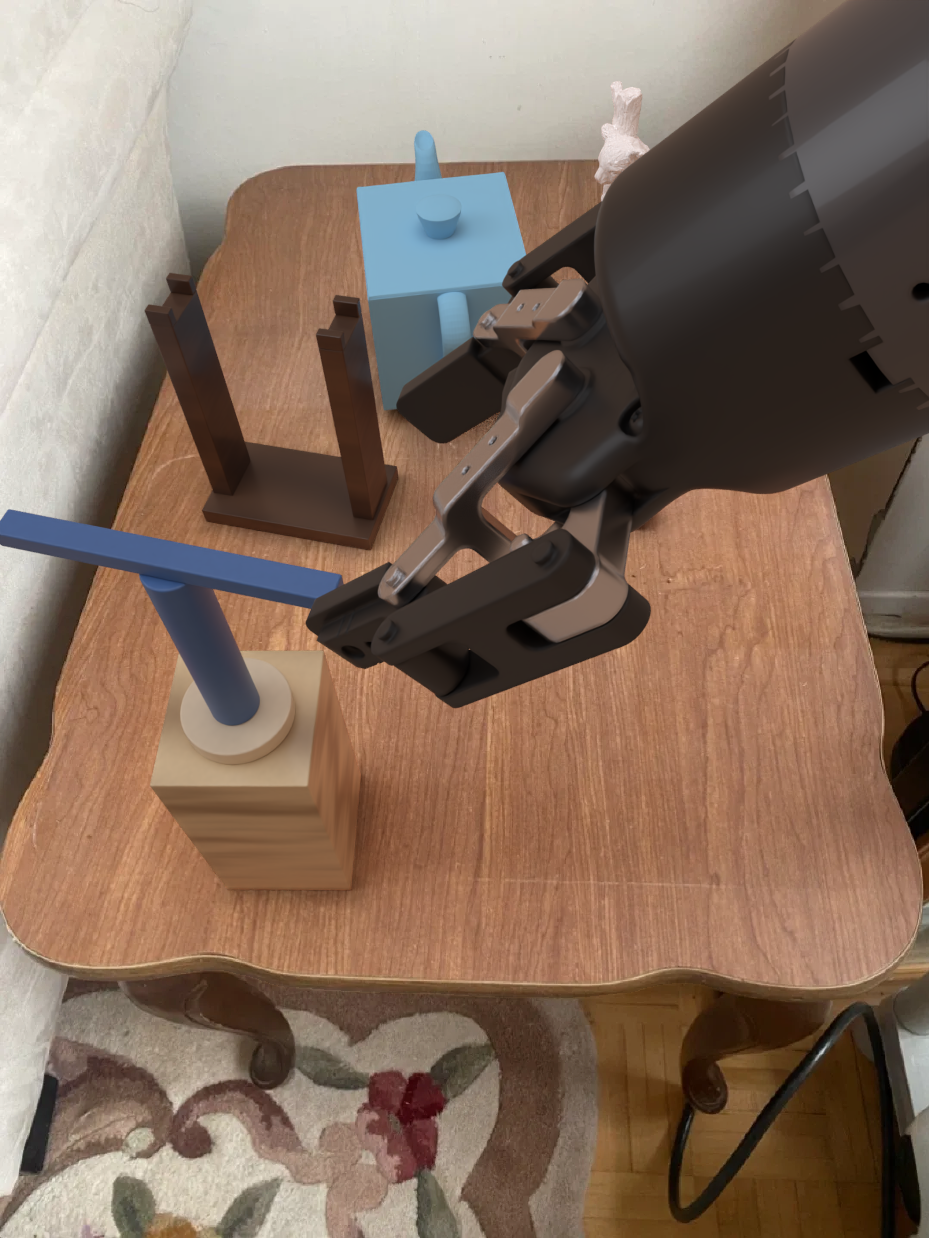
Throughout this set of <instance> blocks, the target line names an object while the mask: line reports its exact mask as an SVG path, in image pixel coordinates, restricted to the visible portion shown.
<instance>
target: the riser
mask: <svg viewBox="0 0 929 1238" xmlns="http://www.w3.org/2000/svg"><path fill="white" fill-rule="evenodd" d="M240 652H241V654H242V657H243V658H254V659H259V660H262V661H265V662H267V663H269V664H271V665H273V666H274V667H276V668H277V669H278V670H279V671H280V672H281V673H282V674H283V675H284V676H285V678H286V679H287V681H288V683H289V686H290V688H291V691H292V693H293V697H294V700H295V716H294V721H293V724H292V727H291V729H290V731H289V733H288V734H287V736H286V737H285V739H284V740H283V741H282V742H281V743H280V744H279V745H278V746H277V747H276V748H275V749H274V750H273V751H271V752H270V753H269V754H267V755H265V756H263V757H262V758H259V759H257V760H255V761H251V762H248V763H243V764H234V765H233V764H222V763H217V762H214V761H211V760H209V759H207V758H205V757H204V756H202V755H201V754H200V753H199V752H197V751H196V750H195V748H194V747H193V746H192V744H191V743H190V741H189V740H188V738H187V736H186V734H185V733H184V731H183V728H182V725H181V720H180V710H181V704H182V700H183V698H184V695H185V693H186V691H187V689H188V688H189V686H190V685H191V683H192V682H193V681H194V680H193V678H192V676H191V674H190V672H189V670H188V669H187V667H186V665H185V663H184V661H183V659H182V657H181V655H180V654H179V653H178V654H177V659H176V663H175V669H174V673H173V678H172V682H171V686H170V692H169V695H168V701H167V706H166V709H165V714H164V719H163V724H162V727H161V733H160V738H159V741H158V746H157V751H156V756H155V760H154V765H153V769H152V770H153V771H152V774H151V778H150V783H149V787H150V788H151V790H152V791H153V792H154V793H155V795H156V796H157V797H158V799H159V800H160V802H161V803H162V805H163V806H164V807H165V809H166V810H167V811H168V813H169V814H170V815H171V816H172V818H173V819H174V821H175V822H176V823H177V824H178V825H179V828H180V829H181V830H182V831H183V832H184V834H185V835H186V836H187V837H188V839H189V840H190V842H191V843H192V845H193V846H194V847H195V848H196V850H197V851H198V853H199V854H200V855H201V856H202V858H203V859H204V861H205V862H206V864H207V865H208V866H209V867H210V868H211V870H212V871H213V873H214V874H215V875H216V876H217V878H218V879H219V881H220V882H221V884H222V885H223V886H224V887H225V889H227V890H243V891H244V890H245V891H246V890H247V891H248V890H249V891H250V890H251V891H252V890H253V891H254V890H256V891H257V890H259V891H260V890H261V891H265V890H266V891H351V890H352V887H353V886H352V885H353V876H354V875H353V872H354V862H355V850H356V840H357V839H356V838H357V829H358V828H357V827H358V816H359V802H360V793H361V781H362V780H361V779H362V774H361V770H360V767H359V764H358V760H357V757H356V753H355V750H354V747H353V744H352V743H353V742H352V740H351V737H350V733H349V730H348V725H347V723H346V720H345V716H344V713H343V710H342V706H341V703H340V700H339V696H338V693H337V689H336V686H335V682H334V680H333V676H332V673H331V670H330V666H329V662H328V660H327V656H326V652H325V651H324V649H323V650H321V649H319V650H318V649H317V650H316V649H314V650H308V649H307V650H305V649H304V650H301V649H300V650H297V649H294V650H290V649H289V650H240Z"/></svg>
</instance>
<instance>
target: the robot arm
mask: <svg viewBox="0 0 929 1238" xmlns="http://www.w3.org/2000/svg"><path fill="white" fill-rule="evenodd" d="M649 149H650V150H649V151H648V152H647V153H645V154H644V155H643V156H641V157H640V158H639V159H637V160H636V161H635V162H633V163H632V164H631V165H629V166H628V167H627V168H626V169H624V170H623V171H622V172H621V173H620V174H619V175H618V176H617V177H616V178H615V180H614V181H613V182H612V184H611V185H610V187H609V188H608V190H607V192H606V194H605V196H604V198H603V201H601V200H600V202H598V203H597V204H596V205H594V206H592V208H590V209H589V210H587V211H586V212H584V213H583V214H581V215H580V216H579V217H578V218H576V219H574V220H573V221H571V222H570V223H569V224H567V225H566V226H564V227H563V228H562V229H560V230H559V231H558V232H556V233H554V234H553V235H552V236H551V237H549V238H547V239H546V240H545V241H544V242H542V243H541V244H539V245H538V246H536V247H535V248H534V249H532V250H531V251H530V252H528V253H526V255H525V256H524V257H523V258H521V259H520V260H519V261H516V262H515V263H514V264H513V265H512V266H511V267H510V268H509V270H508V272H507V274H506V276H505V278H504V280H503V282H502V286H503V288H504V289H505V290H506V291H507V292H508V293H509V294H510V295H511V296H512V297H511V298H510V300H509V302H508V303H507V304H498V305H495V306H494V307H492V308H491V309H490V310H488V311H486V312H485V313H484V314H483V315H482V316H481V317H480V319H479V321H478V323H477V325H476V327H475V329H474V331H473V336H474V337H475V338H476V339H475V338H474V337H472V338H470V339H469V340H467V341H466V342H465V343H463V344H462V345H460V346H459V347H458V348H456V349H455V350H453V351H452V352H450V353H449V354H448V355H446V356H445V357H443V358H442V359H441V360H439V361H438V362H436V363H435V364H433V365H432V366H431V367H429V368H428V369H426V370H425V371H424V372H422V373H421V374H419V375H418V376H416V377H415V378H414V379H412V380H411V381H409V382H408V383H407V384H405V385H404V386H403V389H402V391H401V393H400V396H399V398H398V401H397V403H396V408H397V409H396V410H397V413H399V414H400V415H401V416H402V417H403V418H404V419H405V420H406V421H407V422H409V424H411V425H412V426H414V427H415V428H416V429H417V430H418V431H419V432H420V433H422V434H423V435H424V436H425V437H427V439H429V440H430V441H432V442H434V443H437V444H449V443H450V442H452V441H454V440H455V439H457V438H458V437H460V436H462V435H464V434H466V433H467V432H468V431H470V430H472V429H474V428H475V427H477V426H479V425H480V424H482V423H484V422H486V421H487V420H489V419H490V418H491V417H494V416H495V415H497V414H498V415H497V417H496V419H495V421H494V423H493V425H492V426H491V427H490V428H489V430H488V431H487V432H485V434H484V435H483V436H482V437H481V438H480V439H479V440H478V442H477V443H476V444H475V445H474V446H473V447H472V448H471V449H470V450H469V451H468V452H467V454H465V455H464V457H463V458H461V460H460V461H459V462H458V463H457V465H455V466H454V468H453V469H452V470H451V471H450V472H449V473H448V474H447V476H445V478H444V479H443V480H442V481H441V482H440V483H439V484H438V485H437V487H436V488H435V489H434V491H433V495H432V505H433V507H434V511H435V514H434V515H435V516H434V518H433V520H432V521H431V522H430V523H429V524H428V525H427V526H426V528H424V529H423V531H422V532H421V533H419V535H418V536H417V537H416V538H415V540H414V541H412V542H411V544H410V545H409V546H408V547H407V548H406V549H405V550H404V551H403V552H402V553H401V554H400V556H399V557H397V558H396V559H395V561H394V562H393V563H392V562H390V561H387V562H385V563H384V564H382V565H379V566H378V567H376V568H374V569H371V570H369V571H367V572H366V573H364V574H361V575H359V576H357V577H355V578H354V579H352V580H350V581H348V582H346V583H344V585H342V586H340V587H338V588H336V589H334V590H332V591H330V592H328V593H326V594H324V595H322V596H320V597H318V598H316V599H315V600H314V603H313V605H312V608H311V609H309V612H308V615H307V618H306V620H305V626H306V629H308V630H309V631H310V632H311V633H313V634H314V635H316V636H317V638H316V642H317V643H319V644H321V645H322V646H324V647H326V648H327V649H328V650H330V651H331V652H333V653H334V654H336V655H337V656H339V657H340V658H341V659H343V660H345V661H347V662H348V663H349V664H351V665H352V666H354V667H355V668H357V669H358V668H359V669H363V670H367V669H370V668H372V667H375V666H378V665H379V664H382V663H386V664H387V665H389V666H392V667H394V668H396V670H398V671H400V672H402V673H403V674H405V675H406V676H408V678H410V679H412V680H414V681H415V682H417V683H418V684H420V685H421V686H422V687H424V688H425V689H426V690H427V691H429V692H431V693H432V694H434V696H435V698H437V699H439V700H440V701H441V702H443V703H445V704H446V705H447V706H449V708H452V709H459V708H462V707H465V706H468V705H471V704H473V703H476V702H479V701H481V700H484V699H487V698H489V697H492V696H494V695H497V694H499V693H502V692H505V691H508V690H511V689H513V688H516V687H518V686H522V685H524V684H526V683H530V682H532V681H535V680H537V679H539V678H542V677H543V678H544V677H546V676H548V675H550V674H554V673H556V672H558V671H559V672H560V671H562V670H564V669H567V668H569V667H572V666H576V665H577V664H580V663H583V662H586V661H588V660H591V659H594V658H596V657H600V656H601V655H604V654H606V653H610V652H612V651H615V650H617V649H620V648H622V647H625V646H627V645H629V644H631V643H632V642H634V641H635V640H636V639H637V638H638V637H639V636H640V635H641V634H642V633H643V631H644V630H645V629H646V627H647V625H648V623H649V621H650V618H651V614H652V607H651V603H650V602H649V600H648V599H647V598H645V596H643V595H642V594H641V593H640V592H639V591H638V590H636V589H635V588H634V587H633V586H632V585H631V584H629V583H628V581H627V579H626V576H625V575H626V568H627V561H628V553H629V546H630V539H631V533H634V532H635V531H637V530H639V529H640V528H642V527H643V526H644V525H646V524H647V523H648V522H649V521H651V519H653V518H654V517H655V516H656V515H657V514H658V513H659V512H661V511H662V510H663V509H664V508H665V507H667V506H669V505H670V504H671V503H673V502H674V501H676V500H677V499H679V498H680V497H682V496H684V495H685V494H687V493H689V492H691V491H695V490H722V491H731V492H740V493H745V494H746V493H747V494H753V495H774V494H778V493H782V492H786V491H789V490H792V489H793V488H796V487H799V486H801V485H803V484H806V483H809V482H811V481H814V480H817V479H818V478H819V479H820V478H821V477H823V476H826V475H829V474H831V473H833V472H836V471H838V470H842V469H844V468H846V467H848V466H851V465H854V464H856V463H859V462H861V461H863V460H866V459H869V458H871V457H873V456H876V455H879V454H881V453H885V452H886V451H889V450H891V449H894V448H896V447H899V446H902V445H904V444H906V443H908V442H911V441H913V440H915V439H918V438H920V437H923V436H925V435H928V434H929V0H844V1H842V2H841V3H840V4H839V5H837V6H836V7H835V8H834V9H833V10H831V11H830V12H829V13H827V14H826V15H824V16H823V17H822V18H821V19H819V20H818V21H817V22H815V23H814V24H813V25H811V26H810V27H809V28H808V29H806V30H804V32H802V33H800V35H798V36H797V37H796V38H794V39H792V41H790V42H789V43H788V44H786V46H783V48H781V49H780V50H779V51H777V52H776V53H775V54H774V55H772V56H771V57H769V58H768V59H767V60H766V61H764V62H763V63H762V64H760V65H759V66H758V67H757V68H755V69H754V70H753V71H751V72H750V73H748V74H747V75H746V76H745V77H743V78H742V79H741V80H739V81H738V82H737V83H735V84H734V85H733V86H731V87H730V88H729V89H728V90H726V91H724V92H723V94H721V95H720V96H719V97H717V98H716V99H714V100H713V101H711V102H710V103H709V104H708V105H707V106H706V107H704V108H703V109H701V110H700V111H699V112H698V113H696V114H695V115H693V116H692V117H690V119H688V120H687V121H686V122H684V123H683V124H682V125H681V126H679V127H678V128H676V129H675V130H674V131H673V132H671V133H670V134H669V135H667V136H666V137H665V138H663V139H662V140H661V141H660V142H658V143H657V144H656V145H654V146H653V147H652V148H649ZM563 268H571V269H573V270H574V271H575V272H576V273H578V275H580V277H581V278H569V279H568V278H567V279H566V278H565V279H562V280H561V281H560V282H558V281H557V280H556V279H555V278H554V277H553V275H554V274H555V273H557V272H558V271H559V270H561V269H563ZM497 484H498V485H499V486H500V487H501V488H502V489H504V491H506V493H508V494H509V495H510V496H511V497H513V498H514V499H516V501H517V502H519V503H520V505H522V506H523V507H524V508H525V509H527V510H528V511H529V512H531V513H532V514H534V515H536V516H539V517H541V518H544V519H546V520H550V521H552V522H553V523H552V524H551V525H550V526H549V527H548V528H547V529H546V530H545V531H544V532H543V533H542V534H541V535H539V536H537V537H535V538H532V537H531V536H530V535H528V533H520V534H515V533H514V532H513V531H512V530H511V529H510V528H508V527H507V526H506V525H505V524H504V523H503V522H501V521H500V520H499V519H498V518H497V517H496V516H494V515H493V514H492V513H490V512H489V511H488V510H487V509H486V508H484V507H483V501H484V499H485V497H486V496H487V495H488V493H489V492H490V491H491V490H492V489H493V488H494V487H495V486H496V485H497ZM466 549H467V550H473V551H474V552H475V553H477V554H478V555H479V556H480V557H482V558H483V559H484V560H485V561H486V562H487V563H486V564H485V565H482V566H480V567H478V568H477V569H475V570H473V571H471V572H469V573H467V574H465V575H463V576H461V577H459V578H457V579H455V580H453V581H451V582H449V583H447V582H445V580H443V579H442V578H440V577H439V576H437V574H438V573H439V572H440V571H441V570H442V568H444V567H445V566H446V565H447V564H448V562H450V560H451V559H452V558H453V557H454V556H455V555H456V554H457V553H458V552H460V551H461V550H466Z"/></svg>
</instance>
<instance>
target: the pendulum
mask: <svg viewBox="0 0 929 1238" xmlns="http://www.w3.org/2000/svg"><path fill="white" fill-rule="evenodd" d="M0 546H1V547H6V548H10V549H15V550H20V551H25V552H29V553H30V552H31V553H35V554H40V555H45V556H50V557H54V558H59V559H65V560H69V561H75V562H79V563H84V564H89V565H92V566H98V567H99V566H100V567H103V568H108V569H114V570H117V571H123V572H127V573H132V574H138V577H139V581H140V583H141V584H142V587H143V588H144V590H145V592H146V594H147V595H148V597H149V599H150V602H151V603H152V605H153V607H154V609H155V611H156V612H157V615H158V617H159V619H160V620H161V622H162V624H163V626H164V628H165V630H166V631H167V634H168V635H169V637H170V638H171V640H172V642H173V644H174V646H175V648H176V650H177V652H178V654H180V655H181V657H182V659H183V661H184V663H185V665H186V667H187V669H188V670H189V672H190V674H191V676H192V678H193V680H194V681H193V682H192V683H191V685H190V686H189V688H188V689H187V691H186V693H185V695H184V698H183V700H182V704H181V710H180V720H181V725H182V728H183V731H184V733H185V734H186V736H187V738H188V740H189V741H190V743H191V744H192V746H193V747H194V748H195V750H196V751H197V752H199V753H200V754H201V755H202V756H204V757H205V758H207V759H209V760H211V761H214V762H217V763H222V764H233V765H234V764H243V763H248V762H251V761H255V760H257V759H259V758H262V757H263V756H265V755H267V754H269V753H270V752H271V751H273V750H274V749H275V748H276V747H277V746H278V745H279V744H280V743H281V742H282V741H283V740H284V739H285V737H286V736H287V734H288V733H289V731H290V729H291V727H292V724H293V721H294V716H295V700H294V697H293V693H292V691H291V688H290V686H289V683H288V681H287V679H286V678H285V676H284V675H283V674H282V673H281V672H280V671H279V670H278V669H277V668H276V667H274V666H273V665H271V664H269V663H267V662H265V661H262V660H259V659H254V658H243V657H242V654H241V652H240V651H241V650H240V648H239V645H238V643H237V641H236V639H235V636H234V633H233V632H232V629H231V627H230V625H229V622H228V620H227V618H226V615H225V613H224V611H223V609H222V606H221V604H220V602H219V599H218V597H217V594H216V592H215V590H216V591H220V592H225V593H231V594H235V595H239V596H245V597H249V598H255V599H259V600H260V599H261V600H264V601H270V602H274V603H280V604H284V605H288V606H294V607H300V608H304V609H309V610H311V608H312V605H313V603H314V600H315V599H316V598H318V597H320V596H322V595H324V594H326V593H328V592H330V591H332V590H334V589H336V588H338V587H340V586H342V585H344V584H345V583H344V579H343V575H342V574H340V573H336V572H331V571H326V570H320V569H315V568H311V567H305V566H300V565H295V564H290V563H285V562H279V561H273V560H270V559H265V558H259V557H255V556H249V555H244V554H240V553H239V554H238V553H235V552H229V551H223V550H220V549H214V548H208V547H204V546H198V545H194V544H188V543H183V542H179V541H173V540H169V539H163V538H159V537H153V536H148V535H143V534H139V533H133V532H127V531H122V530H117V529H112V528H107V527H102V526H97V525H92V524H86V523H81V522H76V521H72V520H67V519H61V518H56V517H51V516H46V515H41V514H37V513H30V512H26V511H21V510H16V509H15V510H14V509H12V508H11V509H10V508H9V509H7V510H6V511H5V513H4V514H3V516H2V517H1V519H0Z"/></svg>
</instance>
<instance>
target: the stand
mask: <svg viewBox="0 0 929 1238" xmlns="http://www.w3.org/2000/svg"><path fill="white" fill-rule="evenodd" d="M165 280H166V282H167V286H168V290H169V291H170V293H169V294H168V295H167V297H166V299H165V300H164V302H163V303H162V305H158V304H157V305H156V304H147V305H146V307H145V309H144V314H145V316H146V319H147V321H148V324H149V327H150V329H151V331H152V334H153V337H154V339H155V342H156V344H157V347H158V350H159V352H160V355H161V358H162V360H163V361H162V362H163V364H164V365H165V369H166V371H167V373H168V376H169V379H170V382H171V384H172V387H173V390H174V392H175V395H176V397H177V400H178V402H179V405H180V408H181V410H182V413H183V415H184V418H185V421H186V424H187V427H188V429H189V432H190V435H191V437H192V439H193V442H194V444H195V445H194V446H195V447H196V450H197V452H198V455H199V458H200V461H201V463H202V466H203V469H204V471H205V473H206V476H207V480H208V481H209V485H210V488H211V491H210V494H209V496H208V498H207V500H206V501H205V503H204V505H203V506H202V509H201V511H202V515H203V517H204V519H205V521H206V522H209V523H210V522H211V523H216V524H221V525H227V526H232V527H237V528H244V529H249V530H256V531H262V532H267V533H273V534H278V535H284V536H288V537H295V538H300V539H306V540H311V541H315V542H322V543H328V544H334V545H340V546H345V547H350V548H356V549H360V550H361V549H362V550H367V551H371V550H372V548H373V545H374V542H375V540H376V538H377V535H378V532H379V530H380V527H381V524H382V522H383V519H384V516H385V514H386V511H387V508H388V506H389V503H390V501H391V498H392V495H393V493H394V490H395V487H396V485H397V483H398V480H399V471H398V470H399V469H398V466H397V465H394V464H393V465H392V464H387V463H385V457H384V456H385V455H384V450H383V444H382V438H381V437H382V436H381V430H380V424H379V417H378V412H377V405H376V398H375V391H374V385H373V378H372V371H371V364H370V359H369V358H370V357H369V352H368V346H367V345H368V343H367V338H366V331H365V326H364V325H365V324H364V319H363V312H362V305H361V299H360V297H355V296H349V295H339V294H335V295H334V297H333V299H332V304H333V311H334V317H333V318H332V321H331V323H330V325H329V327H328V328H320V327H319V328H318V329H317V331H316V333H315V338H316V343H317V347H318V353H319V358H320V362H321V367H322V372H323V377H324V381H325V386H326V391H327V397H328V403H329V406H330V411H331V415H332V421H333V425H334V430H335V434H336V440H337V445H338V451H339V454H340V456H338V455H331V454H325V453H318V452H313V451H306V450H301V449H300V450H299V449H294V448H288V447H282V446H275V445H270V444H263V443H259V442H258V443H257V442H251V441H246V440H245V438H244V437H245V436H244V434H243V432H242V428H241V426H240V422H239V419H238V415H237V413H236V409H235V406H234V403H233V399H232V397H231V393H230V391H229V387H228V384H227V382H226V377H225V375H224V372H223V369H222V366H221V363H220V359H219V356H218V353H217V350H216V346H215V344H214V340H213V336H212V334H211V332H210V328H209V325H208V321H207V319H206V315H205V312H204V309H203V306H202V305H203V304H202V303H201V299H200V297H199V296H200V295H199V293H198V290H197V287H196V283H195V280H194V276H193V275H189V274H181V273H175V272H169V273H168V274H167V276H166V277H165Z"/></svg>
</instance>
